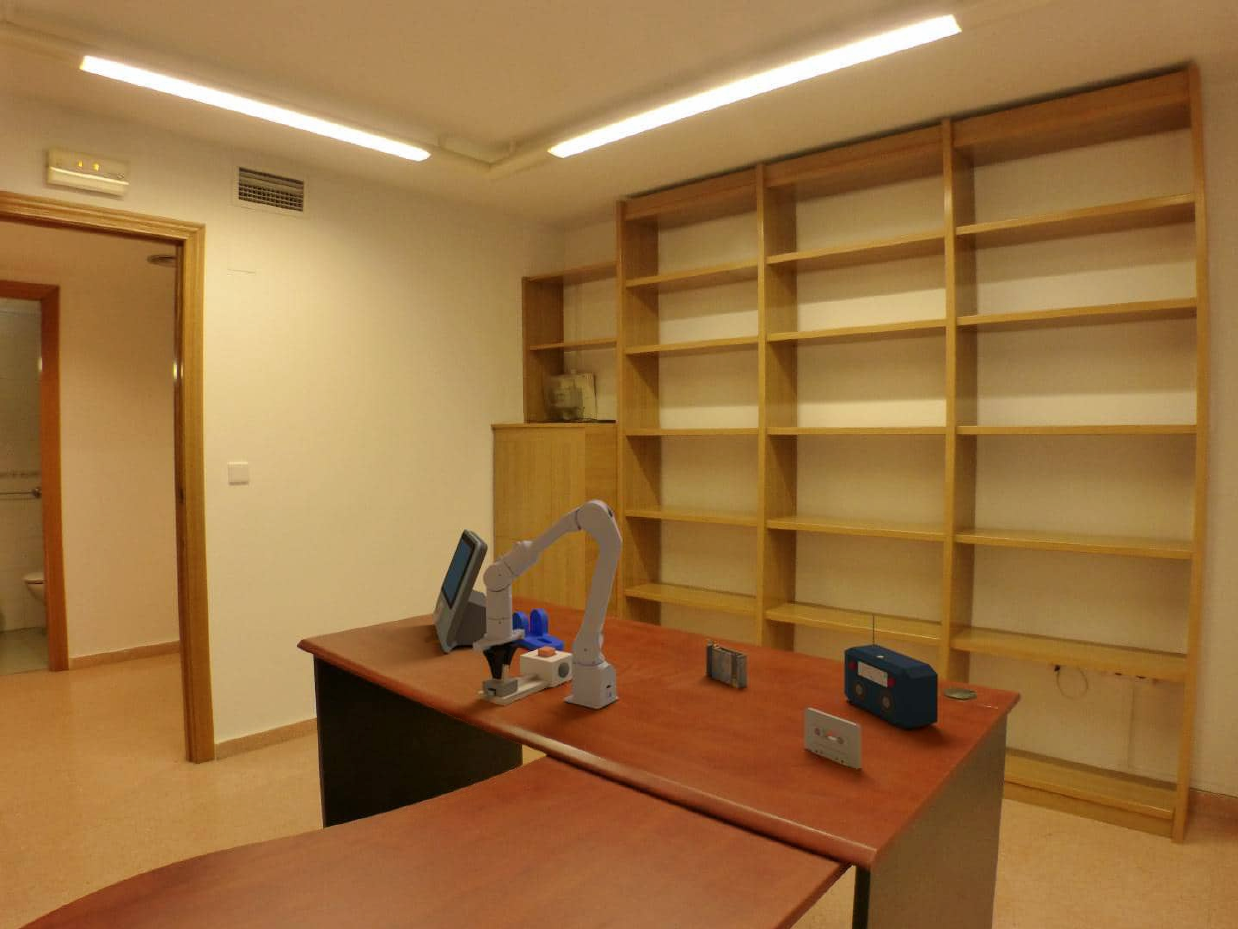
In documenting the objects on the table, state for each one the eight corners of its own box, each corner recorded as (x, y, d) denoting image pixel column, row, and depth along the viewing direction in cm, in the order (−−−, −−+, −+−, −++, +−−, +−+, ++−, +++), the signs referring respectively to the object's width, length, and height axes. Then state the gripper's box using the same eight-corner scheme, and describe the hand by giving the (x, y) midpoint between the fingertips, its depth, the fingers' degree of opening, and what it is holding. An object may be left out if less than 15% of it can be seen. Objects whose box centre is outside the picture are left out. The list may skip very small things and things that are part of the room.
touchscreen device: (428, 624, 241) (430, 528, 240) (491, 622, 247) (493, 527, 246) (436, 655, 208) (439, 543, 207) (509, 651, 214) (512, 542, 213)
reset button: (555, 656, 187) (555, 648, 187) (547, 659, 184) (547, 651, 184) (545, 654, 188) (545, 646, 188) (537, 657, 186) (537, 649, 186)
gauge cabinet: (575, 679, 187) (574, 654, 186) (553, 688, 180) (553, 662, 180) (541, 671, 193) (541, 647, 192) (520, 680, 186) (519, 655, 186)
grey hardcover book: (704, 677, 189) (704, 637, 188) (714, 675, 190) (713, 635, 190) (736, 690, 179) (736, 648, 179) (746, 687, 181) (746, 646, 181)
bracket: (510, 641, 221) (510, 610, 221) (536, 637, 226) (535, 606, 226) (543, 656, 207) (542, 622, 207) (569, 650, 212) (569, 618, 212)
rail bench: (549, 687, 181) (549, 680, 181) (504, 705, 169) (504, 699, 169) (523, 681, 186) (523, 674, 185) (478, 699, 173) (477, 692, 173)
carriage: (517, 690, 174) (517, 663, 173) (502, 696, 169) (501, 669, 169) (498, 685, 177) (497, 659, 177) (482, 691, 173) (482, 665, 173)
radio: (839, 700, 171) (839, 610, 170) (871, 695, 174) (872, 606, 173) (905, 734, 151) (906, 632, 150) (941, 728, 154) (941, 628, 153)
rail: (538, 678, 183) (538, 674, 183) (493, 696, 170) (493, 691, 170) (533, 677, 184) (533, 673, 184) (488, 695, 171) (488, 690, 171)
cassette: (802, 748, 145) (802, 708, 144) (808, 746, 146) (808, 706, 146) (856, 771, 135) (856, 727, 135) (863, 768, 136) (863, 725, 136)
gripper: (508, 608, 181) (509, 666, 181) (462, 620, 169) (463, 682, 169) (531, 612, 177) (532, 671, 177) (486, 625, 165) (487, 688, 165)
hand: (500, 677), depth 173 cm, fingers closed on carriage, 2 cm apart
